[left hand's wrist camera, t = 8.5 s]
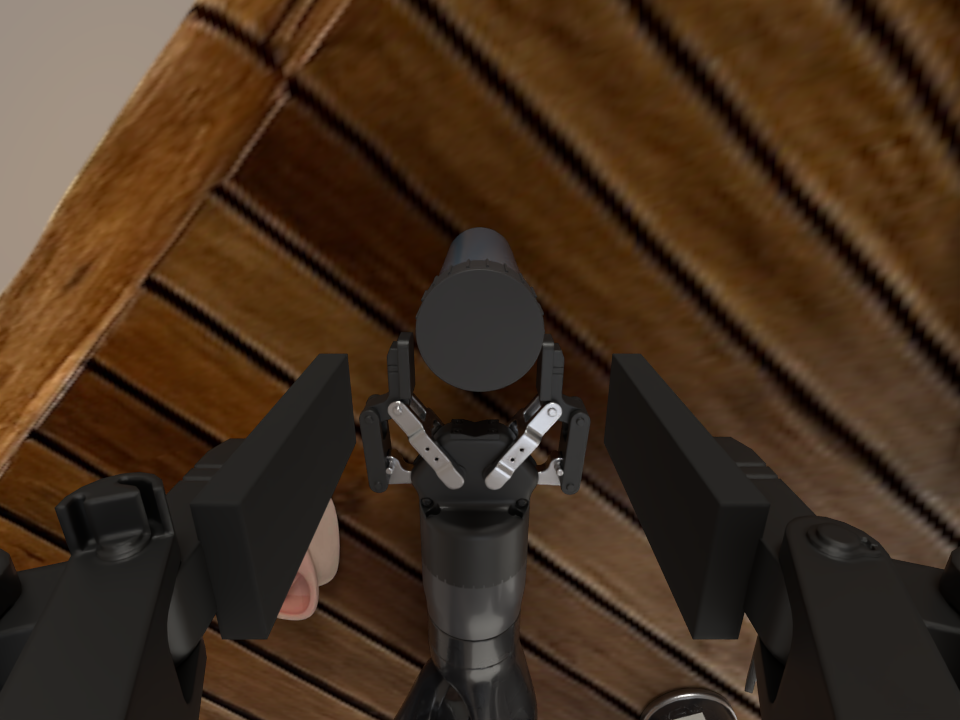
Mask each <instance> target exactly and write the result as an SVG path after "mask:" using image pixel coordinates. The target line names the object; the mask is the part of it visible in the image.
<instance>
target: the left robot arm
mask: <svg viewBox="0 0 960 720" xmlns="http://www.w3.org/2000/svg"><path fill="white" fill-rule="evenodd" d="M355 444H356V436H355V426H354V416H353V406H352V395H351V385H350V375H349V365H348V355H347V354H319V355H318V356H317V357H316V358H315V359H314V361H313V362H312V363H311V364H310V365H309V366H308V368H307V369H306V370H305V371H304V372H303V373H302V374H301V376H300V377H299V378H298V379H297V380H296V381H295V383H294V384H293V385H292V386H291V387H290V388H289V389H288V391H287V392H286V393H285V394H284V395H283V396H282V398H281V399H280V400H279V401H278V402H277V403H276V404H275V406H274V407H273V408H272V409H271V410H270V411H269V413H268V414H267V415H266V416H265V417H264V418H263V419H262V421H261V422H260V423H259V424H258V425H257V426H256V428H255V429H254V430H253V431H252V432H251V433H250V434H249V436H248V437H247V438H246V439H228V440H227V441H225V442H223V443H221V444H220V445H218V446H216V447H214V448H213V449H211V450H209V451H208V452H207V453H206V454H205V455H204V456H203V457H202V458H201V459H200V460H199V461H198V462H197V463H196V464H195V467H194V468H192V469H191V470H190V471H189V472H188V473H187V474H186V475H185V476H184V477H183V481H179V482H178V483H177V484H176V485H175V486H174V487H173V488H172V489H171V490H170V492H169V493H168V494H167V495H166V494H165V490H164V486H163V483H162V480H161V479H160V478H159V477H157V476H156V475H154V474H149V473H142V472H137V473H125V474H119V475H115V476H111V477H107V478H103V479H100V480H98V481H95V482H93V483H90V484H88V485H85V486H83V487H81V488H79V489H78V490H76V491H75V492H73V493H71V494H70V495H68V496H66V497H65V498H64V499H63V500H62V501H61V502H60V503H59V504H58V505H57V506H56V507H55V510H56V513H57V516H58V519H59V522H60V524H61V527H62V530H63V533H64V536H65V539H66V541H67V544H68V547H69V550H70V553H71V557H70V559H69V561H67V562H62V563H57V564H52V565H47V566H43V567H38V568H33V569H28V570H23V571H18V572H16V569H15V567H14V565H13V562H12V560H11V557H10V555H9V554H8V553H7V552H5V551H4V550H2V549H0V720H198V719H199V712H200V704H201V697H202V689H203V682H204V674H205V667H206V659H207V657H206V649H205V644H204V640H203V637H202V636H203V634H204V633H205V631H206V629H207V628H208V626H209V624H210V623H211V621H212V619H213V618H214V616H215V614H216V616H217V621H218V625H219V629H220V633H221V637H222V639H267V638H268V636H269V634H270V632H271V629H272V627H273V625H274V623H275V621H276V618H277V616H278V614H279V612H280V609H281V607H282V605H283V603H284V601H285V598H286V596H287V594H288V592H289V590H290V587H291V585H292V583H293V581H294V579H295V576H296V574H297V572H298V570H299V567H300V565H301V563H302V561H303V559H304V556H305V554H306V552H307V550H308V548H309V545H310V543H311V541H312V539H313V537H314V534H315V532H316V530H317V528H318V526H319V523H320V521H321V519H322V517H323V514H324V512H325V510H326V508H327V506H328V503H329V501H330V499H331V497H332V495H333V492H334V490H335V488H336V486H337V484H338V481H339V479H340V477H341V475H342V472H343V470H344V468H345V466H346V464H347V461H348V459H349V457H350V455H351V453H352V450H353V448H354V446H355ZM604 444H605V446H606V448H607V450H608V453H609V455H610V457H611V459H612V461H613V464H614V466H615V468H616V470H617V472H618V475H619V477H620V479H621V481H622V484H623V486H624V488H625V490H626V492H627V495H628V497H629V499H630V501H631V503H632V506H633V508H634V510H635V512H636V514H637V517H638V519H639V521H640V523H641V526H642V528H643V530H644V532H645V534H646V537H647V539H648V541H649V543H650V545H651V548H652V550H653V552H654V554H655V556H656V559H657V561H658V563H659V565H660V567H661V570H662V572H663V574H664V576H665V579H666V581H667V583H668V585H669V587H670V590H671V592H672V594H673V596H674V598H675V601H676V603H677V605H678V607H679V609H680V612H681V614H682V616H683V618H684V621H685V623H686V625H687V627H688V629H689V632H690V634H691V636H692V638H693V639H738V637H739V633H740V629H741V625H742V621H743V616H744V612H745V613H746V615H747V617H748V618H749V620H750V622H751V623H752V625H753V627H754V628H755V630H756V632H757V633H758V637H757V640H756V644H755V648H754V652H753V656H752V660H751V664H750V667H749V671H748V675H747V679H746V685H745V691H746V692H749V693H752V692H753V689H754V685H755V681H757V688H758V695H759V703H760V710H761V718H762V720H960V547H958V548H957V549H955V550H954V551H952V552H951V555H950V557H949V560H948V562H947V565H946V567H945V569H939V568H934V567H929V566H924V565H919V564H914V563H910V562H905V561H900V560H895V559H891V558H890V556H889V554H888V553H887V552H886V551H885V549H884V548H883V547H882V546H881V544H880V543H879V542H878V541H876V540H875V539H873V538H872V537H871V536H869V535H868V534H866V533H865V532H864V531H862V530H859V529H857V528H855V527H853V526H851V525H849V524H847V523H845V522H841V521H838V520H834V519H831V518H827V517H821V516H816V515H815V514H814V513H813V512H812V511H811V510H810V509H809V508H808V507H807V506H806V505H805V504H804V503H803V501H802V500H801V499H800V498H799V497H798V496H797V495H796V494H795V493H794V492H793V491H792V490H791V489H790V488H789V487H788V486H787V485H786V484H785V483H784V482H783V481H782V480H781V479H778V476H777V475H776V474H775V473H774V472H773V471H772V469H771V468H770V467H766V463H765V462H764V461H763V460H762V459H761V458H760V457H759V456H758V455H757V454H756V453H755V452H754V451H753V450H752V449H751V448H749V447H747V446H745V445H744V444H742V443H740V442H738V441H737V440H735V439H733V438H731V437H712V436H711V434H710V433H709V432H708V431H707V430H706V429H705V428H704V426H703V425H702V424H701V423H700V422H699V421H698V419H697V418H696V417H695V416H694V415H693V414H692V413H691V411H690V410H689V409H688V408H687V407H686V406H685V404H684V403H683V402H682V401H681V400H680V399H679V398H678V396H677V395H676V394H675V393H674V392H673V391H672V389H671V388H670V387H669V386H668V385H667V384H666V383H665V381H664V380H663V379H662V378H661V377H660V376H659V374H658V373H657V372H656V371H655V370H654V369H653V368H652V366H651V365H650V364H649V363H648V362H647V361H646V359H645V358H644V357H643V356H642V355H641V354H613V355H612V365H611V375H610V385H609V395H608V406H607V416H606V426H605V436H604Z"/></svg>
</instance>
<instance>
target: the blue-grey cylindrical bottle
mask: <svg viewBox="0 0 960 720" xmlns="http://www.w3.org/2000/svg"><path fill="white" fill-rule="evenodd" d="M486 258H487V259H489V261H493V262H498V263H500V264H503V265H504V263H505V264H507V267H509V268H511V269H513V270H514V271H515V272H517V273H518V274H519V273H520V271H519V269H518V266H517V263H516V261H515V258H514V256H513V253H512V250H511V248H510V246H509V244H508V242H507V241H506V240H505V238H504V237H503V236H502V235H500V234H499V233H498V232H496V231H494V230H491V229H488V228H481V227H479V228H472V229H469V230H466V231H464V232H463V233H461V234H460V235H459V236H457V237H456V238H455V240H454V241H453V242H452V244H451V246H450V248H449V250H448V253H447V256H446V258H445V261H444V263H443V266H442V269H441V271H440V274H439V276H440V275H441V274H442V273H443V272H444V271H446V270H447V269H449V267H450V265H452V266H455V265H457V264H460V263H463V262H466V261H467V259H470V261H472V260H486Z"/></svg>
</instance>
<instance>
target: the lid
mask: <svg viewBox="0 0 960 720" xmlns="http://www.w3.org/2000/svg"><path fill="white" fill-rule="evenodd" d="M536 297H537V296H536V294H535V291H534V289H533V287H530V286H529V285H528V283H527V282H526V281H525V280H524V278H523V276H522V274H521V273H519V274H518V273H517V272H515V271H514V270H513V269H511V268H509V267H507V264H505V263H504V265H503V264H500V263H498V262H493V261H489V259H487V258H486V260H472V261H470V259H467V261H466V262H463V263H460V264H457V265H455V266H452V265H450V267H449V269H447V270H446V271H444V272H443V273H442V274H441V275H440V276H436V277H435V279H434V281H433V283H432V285H431V286H430V288H429V289H428V291H427V290H426V291H425V293H424V295H423V297H422V300H421V301H422V305H421V307H420V308H419V311H418V313H417V315H416V319H417V321H416V340H417V344H418V348H419V351H420V353H421V356H422V357H423V359H424V361H425V363H426V364H427V366H428V367H429V368H430V369H431V370H432V371H433V373H434V374H435V375H437V376H438V377H439V378H440V379H442V380H443V381H445V382H446V383H448V384H450V385H452V386H454V387H457V388H460V389H463V390H468V391H476V392H483V391H492V390H497V389H500V388H503V387H506V386H508V385H510V384H512V383H514V382H515V381H517V380H518V379H520V378H521V377H522V376H523V375H524V374H525V373H526V372H528V371H529V369H530V368H531V367H532V366H533V364H534V363H535V361H536V359H537V358H538V355H539V353H540V351H541V348H542V344H543V339H544V333H545V330H544V322H543V316H542V315H544V314H543V311H542V309H541V306H540V304H539V303H537V300H536Z"/></svg>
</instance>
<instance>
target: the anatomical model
mask: <svg viewBox="0 0 960 720" xmlns="http://www.w3.org/2000/svg"><path fill="white" fill-rule="evenodd" d="M339 548H340V545H339V529H338V521H337V515H336V511H335V507H334V504H333V501H332V499H330V501H329V503H328V506H327V508H326V510H325V512H324V514H323V517H322V519H321V521H320V523H319V526H318V528H317V530H316V532H315V534H314V537H313V539H312V541H311V543H310V545H309V548H308V550H307V552H306V554H305V556H304V559H303V561H302V563H301V565H300V567H299V570H298V572H297V574H296V576H295V579H294V581H293V583H292V585H291V587H290V590H289V592H288V594H287V596H286V598H285V601H284V603H283V605H282V607H281V609H280V612H279V614H278V616H277V618H281V619H287V620H303V619H306V618H308V617H310V616H311V615H312V614H313V613H314V611H315V610H316V607H317V604H318V599H319V586H321V585H323V584H326V583H328V582H329V581H330V580H332V579H333V577H334V576H335V574H336V572H337V569H338V563H339Z"/></svg>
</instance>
